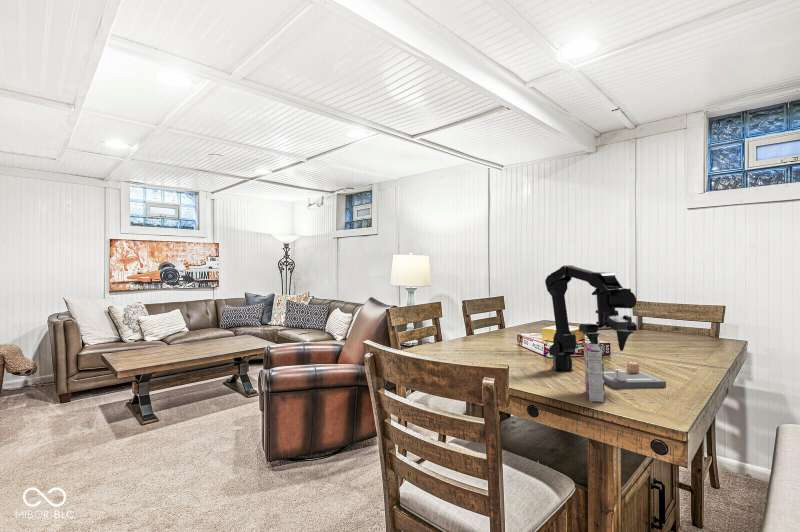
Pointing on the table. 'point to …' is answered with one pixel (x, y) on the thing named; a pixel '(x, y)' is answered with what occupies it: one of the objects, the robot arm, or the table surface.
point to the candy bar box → (594, 372)
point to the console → (633, 380)
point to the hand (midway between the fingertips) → (609, 351)
